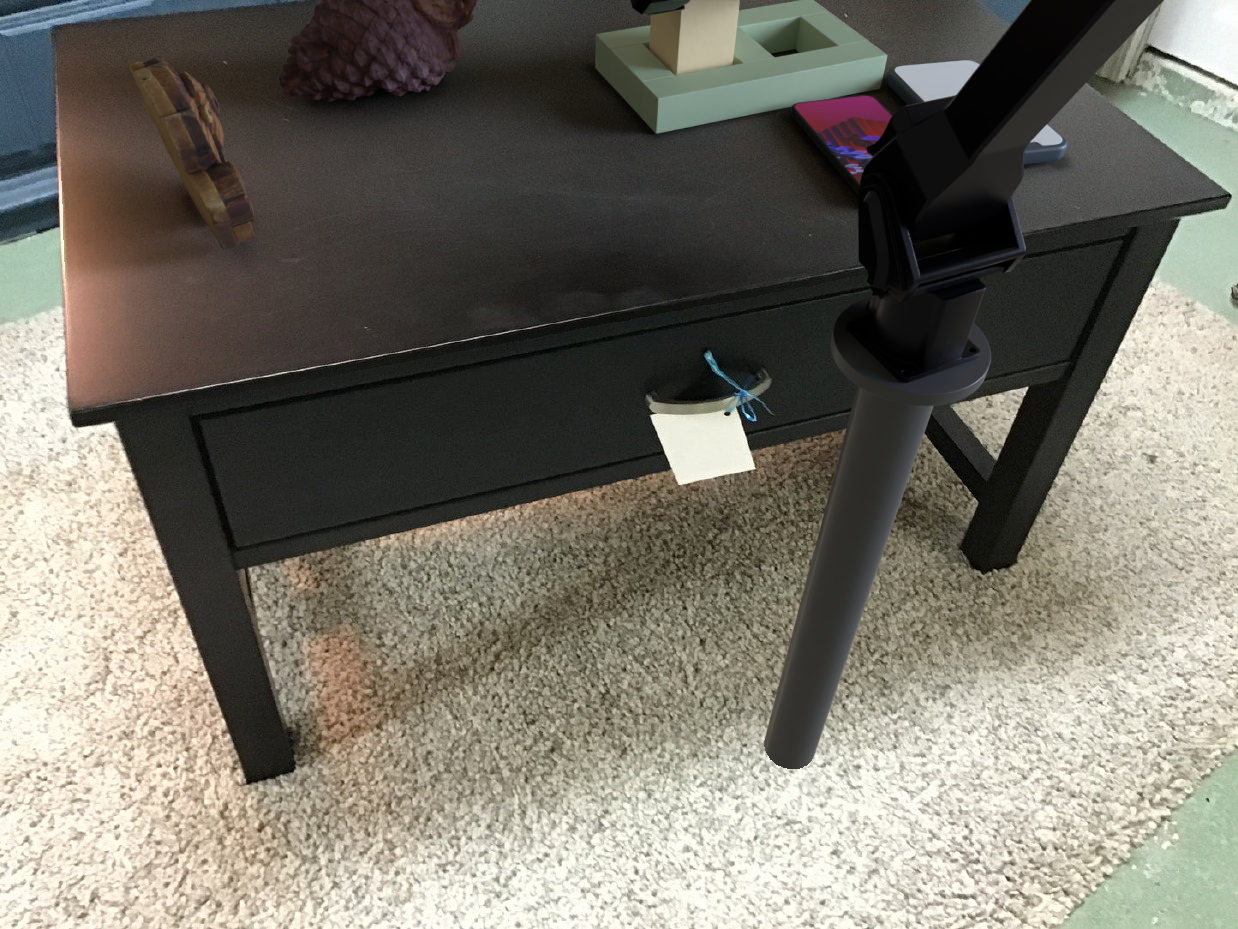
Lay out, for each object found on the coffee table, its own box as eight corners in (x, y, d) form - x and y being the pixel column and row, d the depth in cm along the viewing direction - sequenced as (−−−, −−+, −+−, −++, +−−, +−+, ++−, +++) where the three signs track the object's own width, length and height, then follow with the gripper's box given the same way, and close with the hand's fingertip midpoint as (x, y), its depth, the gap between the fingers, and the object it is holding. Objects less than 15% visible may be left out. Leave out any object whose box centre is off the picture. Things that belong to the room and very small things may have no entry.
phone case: (879, 83, 90) (967, 175, 80) (883, 65, 89) (972, 156, 78) (971, 74, 92) (1069, 163, 81) (976, 56, 91) (1076, 144, 80)
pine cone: (309, 144, 80) (241, 14, 76) (312, 145, 89) (251, 28, 85) (515, 49, 82) (458, -83, 78) (497, 59, 91) (446, -58, 87)
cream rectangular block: (729, 94, 88) (747, -69, 78) (674, 105, 86) (686, -61, 77) (701, 68, 91) (715, -92, 81) (647, 78, 89) (655, -85, 80)
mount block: (880, 88, 89) (887, 54, 87) (655, 134, 83) (658, 98, 81) (806, 30, 97) (811, -2, 95) (595, 68, 90) (595, 33, 88)
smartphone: (873, 93, 87) (963, 185, 77) (871, 103, 87) (960, 195, 77) (787, 102, 85) (868, 198, 75) (785, 113, 86) (865, 209, 76)
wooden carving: (292, 255, 70) (259, 117, 63) (226, 278, 68) (184, 138, 61) (203, 149, 79) (166, 18, 72) (143, 166, 77) (98, 33, 70)
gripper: (881, -242, 70) (775, -114, 85) (629, -221, 64) (563, -88, 79) (922, -77, 71) (811, 21, 86) (677, -42, 65) (603, 57, 80)
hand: (700, 0), depth 82 cm, fingers open, 9 cm apart
